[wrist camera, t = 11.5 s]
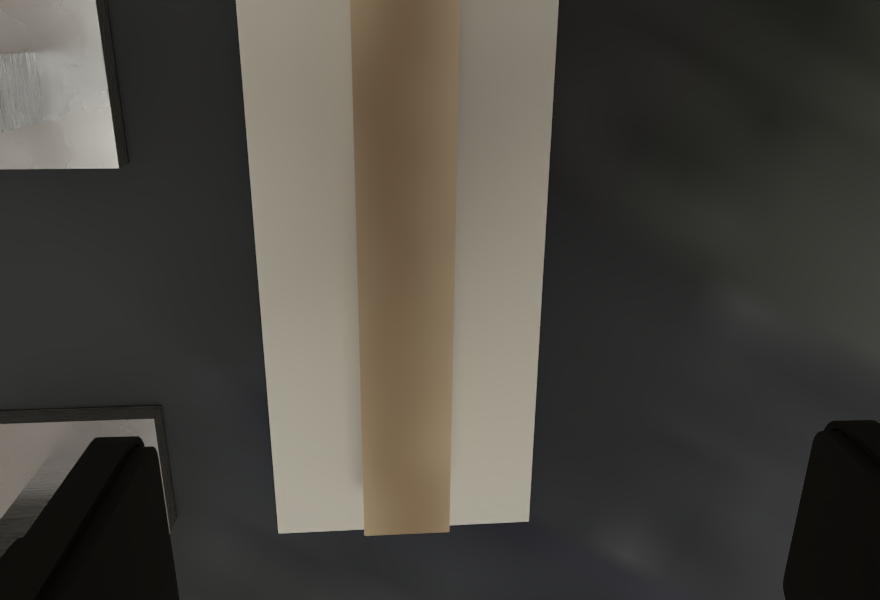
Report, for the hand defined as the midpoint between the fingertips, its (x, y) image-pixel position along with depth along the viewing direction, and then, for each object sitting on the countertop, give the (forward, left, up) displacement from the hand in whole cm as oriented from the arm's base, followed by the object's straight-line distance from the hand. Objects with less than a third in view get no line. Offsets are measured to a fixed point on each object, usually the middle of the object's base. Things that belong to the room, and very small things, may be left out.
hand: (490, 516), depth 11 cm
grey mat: (+1, 0, -17) cm, 17 cm away
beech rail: (+1, 0, -16) cm, 16 cm away
